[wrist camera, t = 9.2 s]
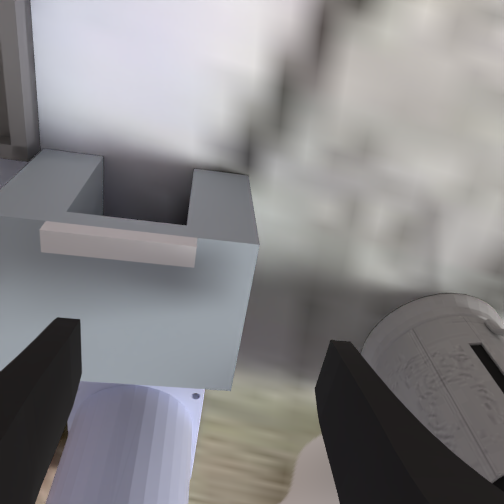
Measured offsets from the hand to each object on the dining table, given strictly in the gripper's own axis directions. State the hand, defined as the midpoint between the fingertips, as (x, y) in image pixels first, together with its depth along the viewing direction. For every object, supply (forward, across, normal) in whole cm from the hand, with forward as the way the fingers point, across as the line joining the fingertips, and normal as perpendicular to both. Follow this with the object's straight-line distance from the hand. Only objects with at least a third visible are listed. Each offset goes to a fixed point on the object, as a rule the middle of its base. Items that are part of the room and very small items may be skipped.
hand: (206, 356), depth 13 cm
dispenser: (+10, +3, +2) cm, 10 cm away
